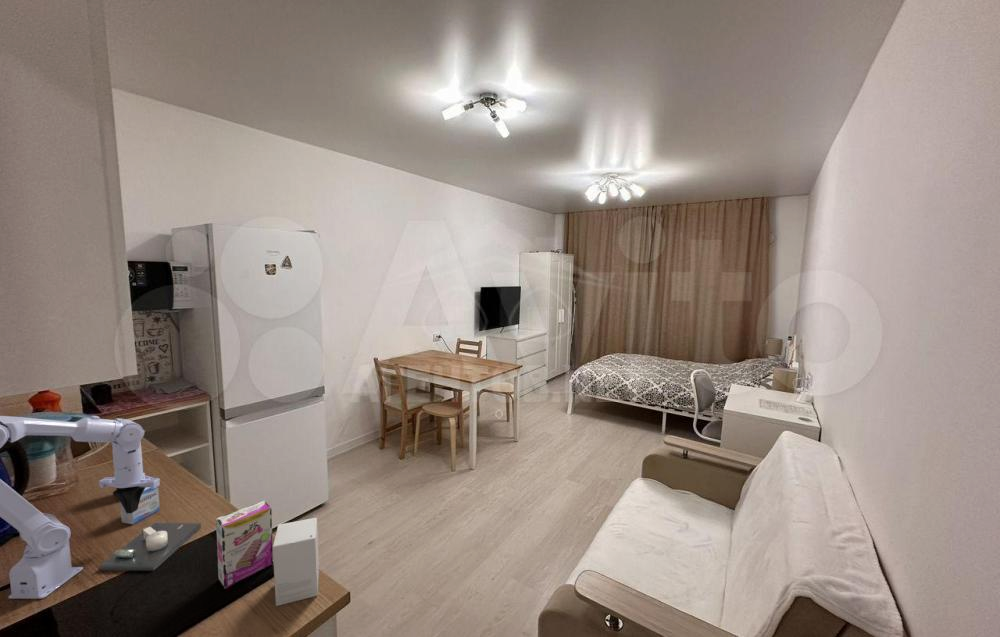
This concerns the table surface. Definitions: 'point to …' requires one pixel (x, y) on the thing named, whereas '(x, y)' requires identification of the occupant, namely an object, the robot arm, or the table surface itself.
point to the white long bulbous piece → (154, 538)
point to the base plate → (143, 560)
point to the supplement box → (296, 561)
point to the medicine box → (142, 507)
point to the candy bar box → (244, 543)
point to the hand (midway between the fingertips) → (132, 511)
